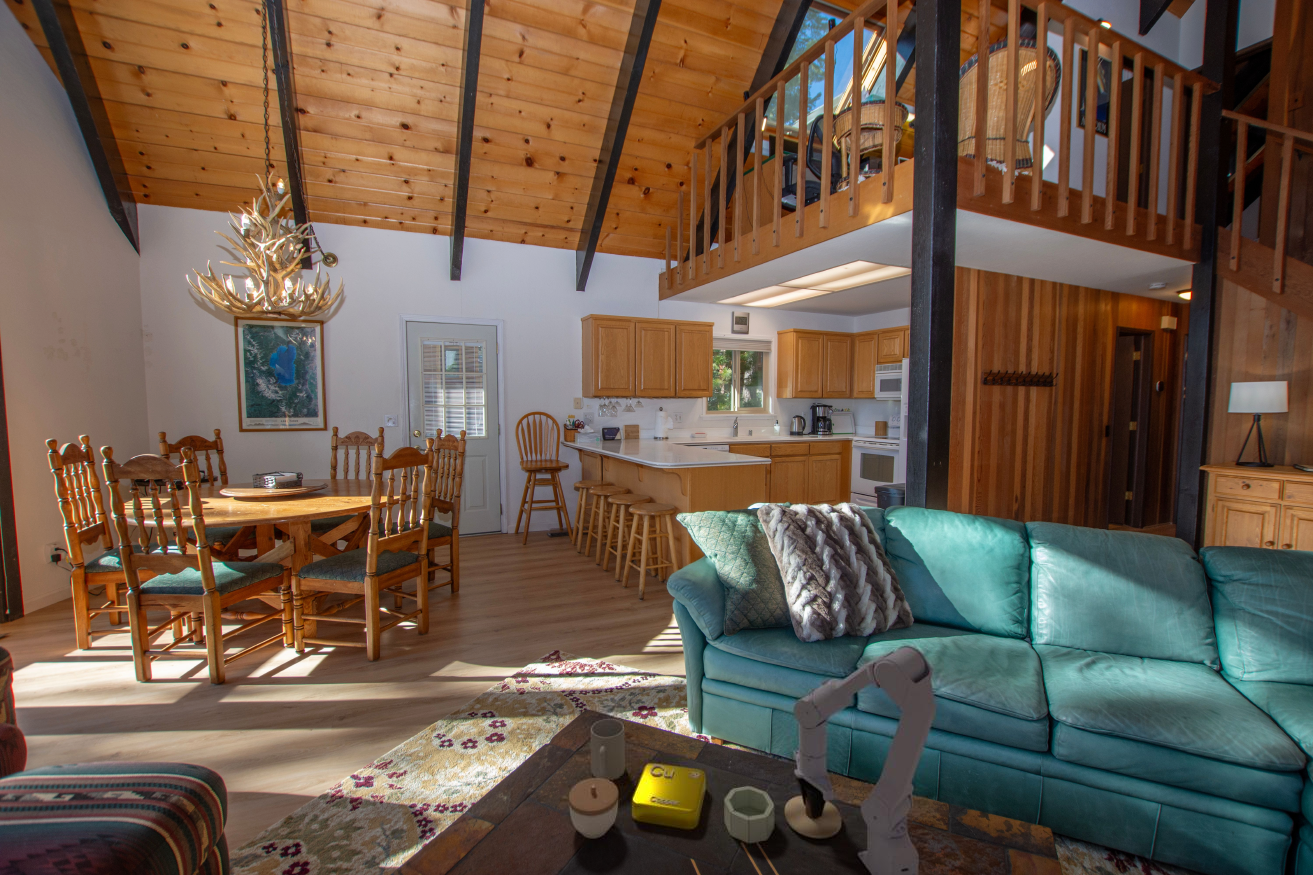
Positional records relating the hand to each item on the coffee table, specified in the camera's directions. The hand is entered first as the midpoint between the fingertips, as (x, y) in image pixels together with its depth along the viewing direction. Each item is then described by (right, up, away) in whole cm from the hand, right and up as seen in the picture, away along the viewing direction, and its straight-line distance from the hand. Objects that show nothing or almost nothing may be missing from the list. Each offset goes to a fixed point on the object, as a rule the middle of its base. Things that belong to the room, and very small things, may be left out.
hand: (812, 810), depth 124 cm
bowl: (-14, -3, -1) cm, 14 cm away
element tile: (-31, -3, +7) cm, 32 cm away
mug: (-47, -2, +16) cm, 50 cm away
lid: (0, -2, 0) cm, 2 cm away
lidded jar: (-48, -3, -1) cm, 48 cm away
